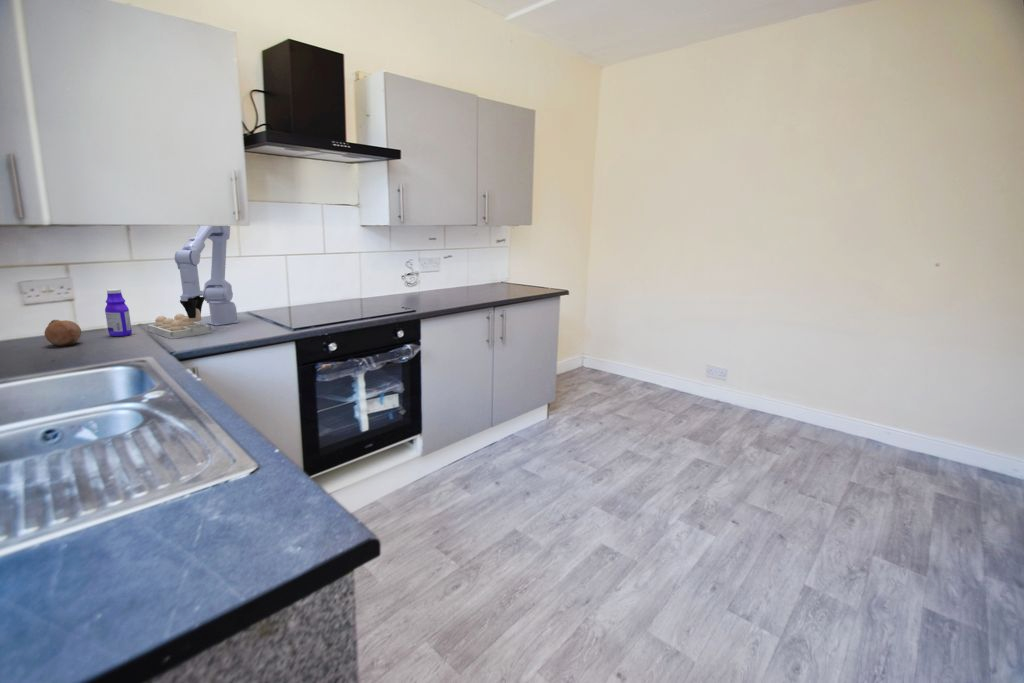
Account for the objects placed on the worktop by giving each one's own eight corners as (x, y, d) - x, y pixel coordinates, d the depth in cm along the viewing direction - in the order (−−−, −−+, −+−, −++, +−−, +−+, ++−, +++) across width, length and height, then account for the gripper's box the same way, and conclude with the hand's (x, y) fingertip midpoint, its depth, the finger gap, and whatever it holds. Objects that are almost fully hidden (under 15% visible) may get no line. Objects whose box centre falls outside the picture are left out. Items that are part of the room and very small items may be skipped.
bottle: (136, 334, 192) (129, 288, 188) (123, 337, 186) (115, 290, 182) (118, 333, 192) (111, 288, 188) (105, 336, 187) (97, 290, 183)
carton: (187, 325, 208) (185, 311, 206) (211, 332, 196) (209, 317, 195) (148, 331, 197) (145, 316, 195) (171, 339, 185) (169, 323, 184)
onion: (53, 354, 173) (33, 329, 170) (82, 341, 181) (63, 317, 178) (62, 348, 168) (41, 322, 165) (92, 335, 175) (72, 310, 173)
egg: (198, 319, 197) (196, 306, 196) (203, 320, 195) (201, 307, 194) (187, 320, 194) (185, 307, 193) (192, 321, 191) (190, 309, 190)
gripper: (193, 283, 184) (198, 320, 188) (209, 279, 198) (213, 313, 201) (172, 283, 183) (177, 320, 186) (189, 279, 197) (194, 313, 200)
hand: (194, 316), depth 194 cm, fingers closed on egg, 4 cm apart
